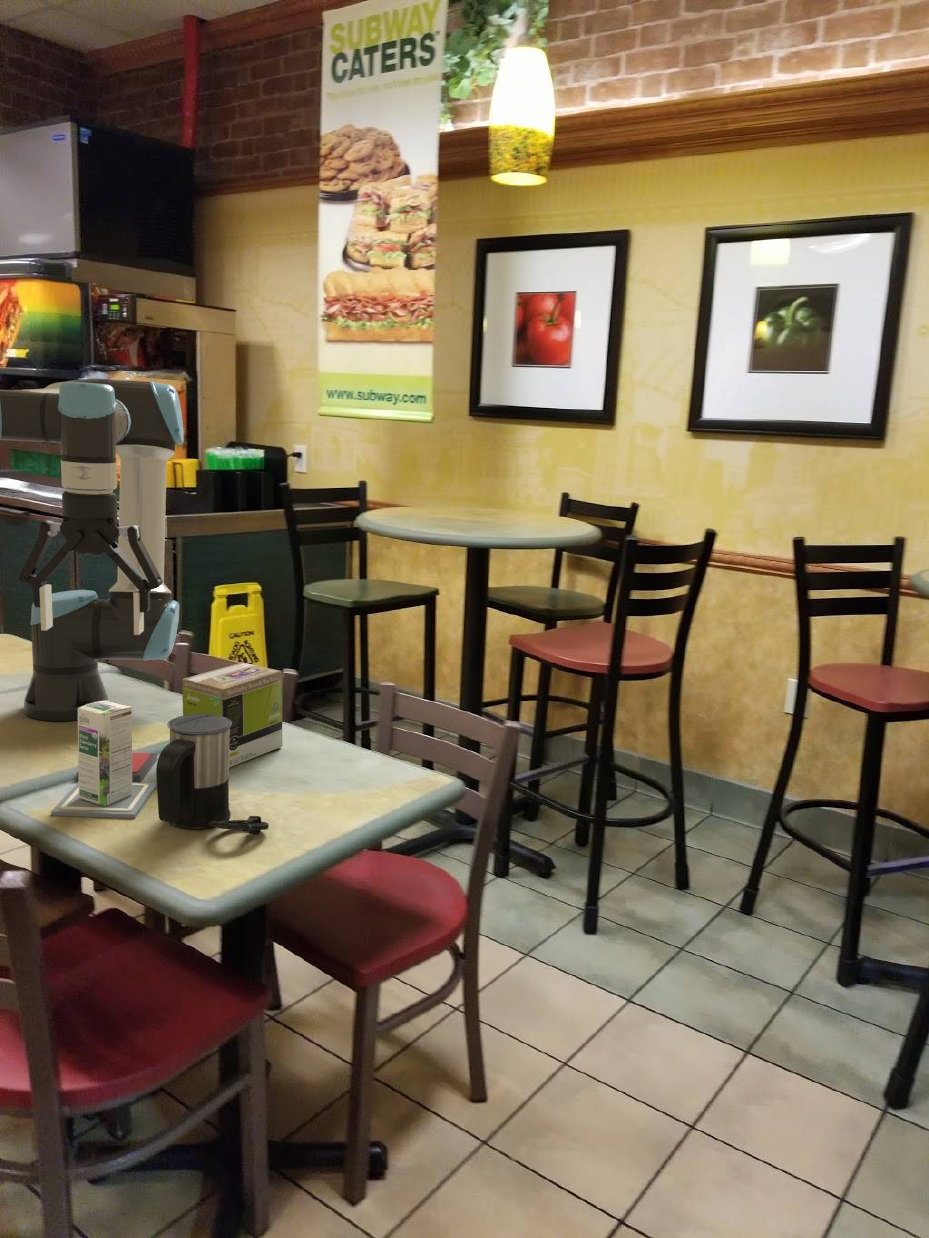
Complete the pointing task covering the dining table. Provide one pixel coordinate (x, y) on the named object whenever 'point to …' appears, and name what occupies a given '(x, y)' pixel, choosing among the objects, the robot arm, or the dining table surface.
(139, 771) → the ink pad
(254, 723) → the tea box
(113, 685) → the dining table surface
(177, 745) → the milk frother
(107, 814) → the marked board
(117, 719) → the syrup box
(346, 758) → the dining table surface
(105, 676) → the dining table surface
